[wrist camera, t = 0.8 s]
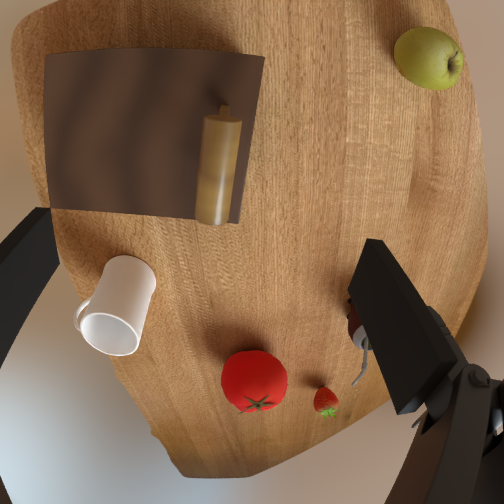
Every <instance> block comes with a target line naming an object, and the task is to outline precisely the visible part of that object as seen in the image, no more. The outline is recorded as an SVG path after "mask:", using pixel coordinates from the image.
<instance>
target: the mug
mask: <svg viewBox="0 0 504 504" xmlns="http://www.w3.org/2000/svg"><path fill="white" fill-rule="evenodd" d="M155 287H156V278H155V275H154V273H153V271H152V269H151V268H150V267H149V266H148V265H147V264H146V263H145V262H143V261H142V260H140V259H138V258H136V257H133V256H128V255H121V256H116V257H114V258H112V259H110V260H109V261H108V262H107V263H106V265H105V267H104V269H103V274H102V276H101V278H100V280H99V283H98V285H97V287H96V289H95V291H94V293H93V295H92V296H91V297H89V298H87V299H86V300H85V301H83V302H82V303H81V304H80V305H79V307H78V308H77V309H76V311H75V314H74V317H73V322H74V325H75V327H76V328H77V330H79V331H81V333H82V335H83V337H84V339H85V340H86V341H87V342H88V343H89V344H90V345H91V346H93V347H94V348H95V349H97V350H99V351H101V352H103V353H106V354H109V355H114V356H124V355H129V354H131V353H133V352H134V351H135V350H136V349H137V348H138V346H139V342H140V338H141V334H142V330H143V326H144V322H145V318H146V314H147V310H148V307H149V303H150V299H151V296H152V293H153V292H154V290H155ZM87 305H88V306H87ZM85 306H87V308H86V311H85V313H84V315H83V317H82V320H81V323H80V324H78V322H77V318H78V315H79V313H80V312H81V311H82V309H83V308H84V307H85Z"/></svg>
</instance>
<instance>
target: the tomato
mask: <svg viewBox="0 0 504 504" xmlns="http://www.w3.org/2000/svg"><path fill="white" fill-rule="evenodd" d="M287 385H288V384H287V372H286V370H285V368H284V367H283V365H282V364H281V362H280V361H279V360H278V359H277V358H275V357H274V356H272V355H271V354H269V353H266V352H263V351H260V350H253V351H241V352H238V353H236V354H234V355H232V356H231V357H230V358H229V359H228V360H227V361H226V363H225V365H224V367H223V371H222V376H221V386H222V388H223V391H224V394H225V397H226V398H227V399H228V400H229V402H230V403H231V404H234V405H235V406H236V407H237V408H238V409H239V410H240V411H242V412H253V411H256V410H258V411H260V410H268V409H271V408H273V407H275V406H276V405H278V404H279V403H280V402H281V401H282V399H283V398H284V396H285V393H286V389H287ZM242 412H241V413H242ZM239 414H240V413H239Z"/></svg>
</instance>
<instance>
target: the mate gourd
mask: <svg viewBox="0 0 504 504" xmlns="http://www.w3.org/2000/svg"><path fill="white" fill-rule="evenodd" d="M348 302H349V303H350V304H351V308H352V312H351V313H350V314H349V315H348V316H347V319H348V333H349V335H350V337H351V339H352V341H353V343H354V344H355V346H357V347H358V348H360V349H362V350H364V357H363V363H362V371H361V372H360V374H359V375H358V377H357V378H356V379H355V381H354V382H353V383H352V386H353V385H354V384H355V383H356V382H357V381H358V380H359V379H360V378H361V377H362V376H363V374H364V372H365V370H366V369H367V365H368V363H367V351H372V347H371V345H370V342H369V340H368V337H367V335H366V332H365V330H364V327H363V325H362V323H361V320H360V318H359V316H358V313H357V311H356V309H355V306H354V304H353V302H352V299H351V298H350V299H349V300H348Z"/></svg>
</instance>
